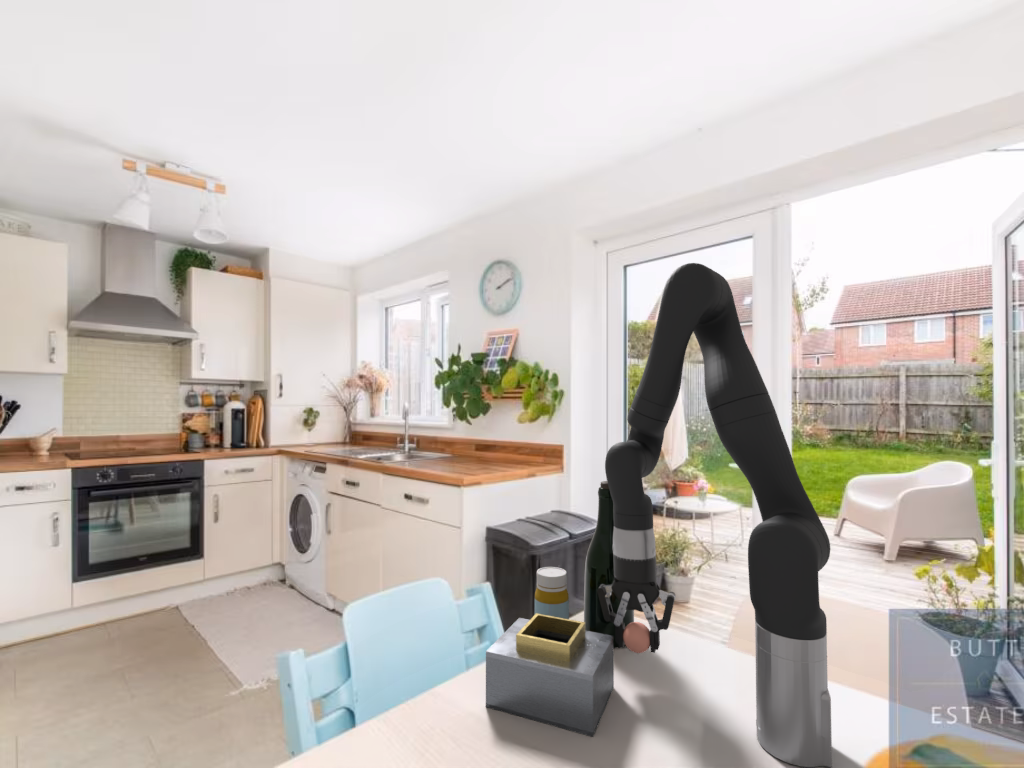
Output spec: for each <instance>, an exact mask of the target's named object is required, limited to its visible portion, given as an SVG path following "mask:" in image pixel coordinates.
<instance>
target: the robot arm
mask: <svg viewBox="0 0 1024 768" xmlns="http://www.w3.org/2000/svg"><path fill="white" fill-rule="evenodd" d="M731 288H732V287H731V286H730V284H729V282H728V281H727V279H726V278H725V277H724V276H723V275H721V274H720V273H719V272H717V271H715V270H713V269H712V268H710V267H708V266H706V265H704V264H701V263H698V262H691V263H690V262H689V263H685V264H682V265H681V266H679V267H677V268H676V269H674V271H672V273H670V275H669V277H668V279H667V280H666V282H665V285H664V289H663V292H662V295H661V300H660V305H659V309H658V310H659V311H658V315H657V319H656V320H657V321H656V325H655V328H654V333H653V337H652V341H651V346H650V349H649V353H648V357H647V361H646V364H645V367H644V369H643V373H642V376H641V379H640V381H639V384H638V387H637V390H636V391H635V395H634V397H633V399H632V402H631V405H630V408H629V411H628V414H627V418H626V419H627V423H628V424H629V426H630V429H629V433H628V438H627V440H626V441H621V442H620V441H619V442H617V443H615V444H613V445H612V446H610V447H609V448H608V451H607V452H606V457H605V462H604V470H605V476H606V481H607V482H608V486H609V490H610V494H611V497H612V500H613V518H614V532H613V545H612V548H613V563H614V581H613V583H612V584H611V585H605V584H601V585H600V587H599V588H598V590H597V592H598V596H599V600H600V604H601V608H602V612H603V616H604V619H605V621H607V622H608V621H610V622H612V623H613V624H614V625H615V640H616V643H618V644H619V647H621V648H622V649H623V648H625V647H624V645H625V643H624V640H623V632H624V629H625V623H623V618H624V615H625V612H626V610H634V611H637V612H640V613H643V615H644V617H645V619H646V620H647V622H648V625H649V628H650V629H649V631H650V647H649V649H650V653H653V654H655V653H656V651H658V650H659V649H660V645H661V640H660V636H661V635H660V631H661V630H665V631H666V630H668V629H669V627H670V622H671V618H672V614H673V613H672V612H673V609H674V605H675V600H676V593H675V592H673V591H669V592H667V591H664V590H662V589H661V588H660V587H659V584H658V581H657V580H658V579H657V577H658V575H657V573H658V572H657V551H656V547H657V545H656V537H655V531H654V509H653V501H652V498H651V497H650V496H649V495H648V494H646V493H645V490H644V484H643V478H646V477H648V476H649V475H651V474H652V473H653V471H654V470H655V468H656V466H657V464H658V462H659V459H660V457H661V452H662V447H663V443H664V437H665V430H666V428H667V426H668V423H669V421H670V419H671V417H672V413H673V411H674V408H675V407H676V403H677V400H678V398H679V394H680V391H681V385H682V379H683V378H682V377H683V369H684V362H685V356H686V352H687V348H688V345H689V342H690V340H691V337H692V335H693V334H694V336H695V338H696V341H697V344H698V345H699V348H700V351H701V354H702V358H703V359H702V360H703V368H704V369H703V370H704V371H703V372H704V373H703V374H704V377H703V378H704V392H705V399H706V404H707V407H708V410H709V414H710V416H711V418H712V423H713V424H714V427H715V430H716V433H717V436H718V438H719V440H720V442H721V444H722V445H723V447H724V448H725V450H726V452H727V454H729V456H730V458H731V459H732V460H733V462H734V463H735V464H736V466H737V467H738V468H739V470H740V471H741V472H742V474H743V475H744V477H745V478H746V480H747V481H748V484H749V485H750V488H751V489H752V492H753V494H754V497H755V501H756V503H757V506H758V509H759V512H760V516H761V520H762V522H759V524H757V525H756V526H755V527H754V529H752V531H751V533H750V535H749V538H748V546H747V567H748V582H749V583H748V585H749V586H748V587H749V597H750V601H751V604H752V606H753V607H752V608H753V609H754V622H755V623H754V626H755V627H754V631H755V632H754V633H755V634H754V636H755V641H754V642H755V703H756V705H755V707H756V708H755V709H756V710H755V711H756V712H755V713H756V720H755V721H756V722H755V726H756V738H757V739H756V740H758V742H759V745H760V746H761V747H762V748H763V749H764V750H765V751H766V752H767V753H769V754H770V755H771V756H773V757H774V758H776V759H778V760H780V761H782V762H785V763H787V764H790V765H794V766H796V767H797V766H799V767H802V768H803V767H804V768H816V767H817V768H818V767H828V768H832V767H833V754H832V753H833V752H832V751H833V749H832V748H833V746H832V745H833V743H832V700H831V699H832V698H831V694H830V691H829V688H828V686H829V685H828V638H827V637H828V635H827V634H828V632H827V631H828V629H827V626H828V625H827V616H826V613H825V611H824V610H823V609H822V608H821V606H820V604H821V603H820V587H819V572H820V571H821V570H822V569H823V568H824V567H825V566H826V565H827V564H828V561H829V559H830V557H831V555H830V554H831V542H830V539H829V535H828V534H827V530H826V529H825V526H824V524H823V522H822V521H821V518H820V517H819V515H818V513H817V511H816V509H815V508H814V505H813V503H812V502H811V499H810V497H809V495H808V493H807V491H806V490H805V488H804V485H803V484H802V481H801V479H800V476H799V475H798V471H797V469H796V465H795V462H794V460H793V457H792V456H793V455H792V454H791V450H790V448H789V445H788V442H787V440H786V437H785V434H784V431H783V429H782V426H781V423H780V420H779V417H778V414H777V412H776V409H775V406H774V403H773V400H772V399H771V395H770V393H769V391H768V389H767V386H766V384H765V382H764V380H763V377H762V374H761V372H760V369H759V368H758V366H757V363H756V361H755V358H754V357H753V354H752V353H751V350H750V348H749V347H748V344H747V342H746V339H745V335H744V334H743V330H742V327H741V323H740V319H739V315H738V311H737V307H736V303H735V299H734V294H733V292H732V289H731ZM611 591H613V592H614V594H615V595H616V597H617V598H618V600H619V601H620V605H619V608H618V611H617V614H616V613H614V612H613V609H612V606H611V602H610V598H609V597H610V596H611ZM658 598H660V600H661V604H662V606H664V610H663V614H662V618H661V619H659V618H658V615H657V612H656V608H655V606H654V603H655V602H656V600H657V599H658ZM621 648H620V649H621Z"/></svg>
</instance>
